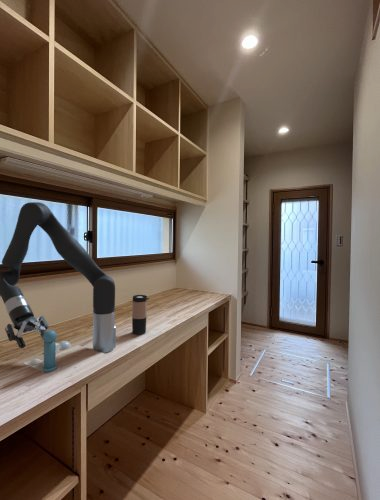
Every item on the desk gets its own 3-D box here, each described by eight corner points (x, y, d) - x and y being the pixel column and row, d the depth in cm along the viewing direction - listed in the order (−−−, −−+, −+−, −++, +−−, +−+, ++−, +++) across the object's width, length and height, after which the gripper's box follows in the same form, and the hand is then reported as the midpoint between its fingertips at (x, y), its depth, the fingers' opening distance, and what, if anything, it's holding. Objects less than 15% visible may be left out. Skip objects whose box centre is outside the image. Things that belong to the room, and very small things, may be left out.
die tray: (64, 349, 118) (64, 336, 118) (75, 353, 115) (75, 340, 114) (43, 357, 110) (43, 344, 109) (54, 362, 106) (54, 348, 106)
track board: (37, 360, 104) (37, 357, 104) (63, 370, 96) (63, 367, 96) (20, 367, 98) (20, 363, 98) (45, 379, 90) (46, 375, 90)
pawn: (51, 364, 98) (52, 327, 97) (59, 367, 95) (59, 329, 95) (39, 370, 93) (39, 331, 93) (47, 373, 91) (47, 333, 90)
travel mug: (129, 331, 139) (130, 295, 138) (142, 329, 143) (143, 294, 143) (135, 336, 133) (135, 298, 132) (148, 333, 137) (149, 296, 136)
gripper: (3, 307, 96) (19, 344, 90) (40, 300, 108) (57, 332, 103) (-5, 319, 98) (11, 355, 93) (32, 311, 111) (48, 342, 106)
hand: (35, 343), depth 98 cm, fingers open, 8 cm apart
